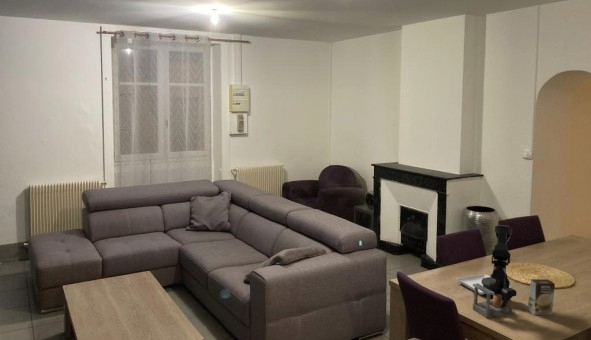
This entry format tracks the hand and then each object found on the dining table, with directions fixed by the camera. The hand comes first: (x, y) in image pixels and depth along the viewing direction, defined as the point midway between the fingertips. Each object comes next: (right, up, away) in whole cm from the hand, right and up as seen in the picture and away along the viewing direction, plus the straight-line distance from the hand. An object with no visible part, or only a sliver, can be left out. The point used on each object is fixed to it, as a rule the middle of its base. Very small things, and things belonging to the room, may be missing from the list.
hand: (497, 303), depth 246 cm
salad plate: (+4, 0, +30) cm, 30 cm away
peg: (0, -4, +1) cm, 4 cm away
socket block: (-3, -4, 0) cm, 5 cm away
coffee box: (+20, -4, -1) cm, 21 cm away
